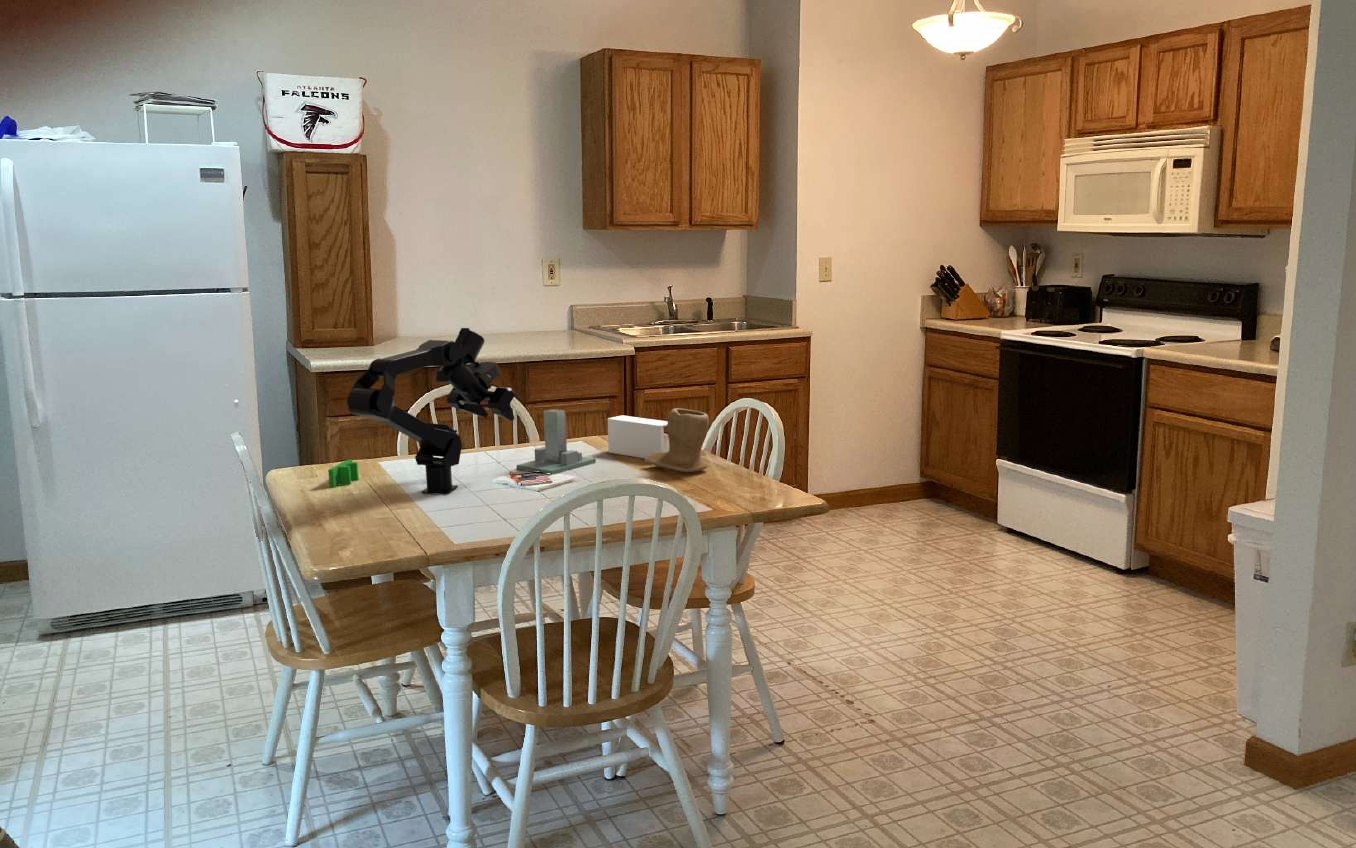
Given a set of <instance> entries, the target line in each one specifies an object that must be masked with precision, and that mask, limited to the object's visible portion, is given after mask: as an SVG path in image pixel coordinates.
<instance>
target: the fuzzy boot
mask: <svg viewBox="0 0 1356 848" xmlns="http://www.w3.org/2000/svg"><path fill="white" fill-rule="evenodd" d="M667 421H668V425H667V426H666V429H667V435H668V444H669V451H668V452H657V453H653V454H651V455H649V456H647V457H646V458H645V459H644V462H645V463H647V464H650V465H653V466H656V467H659V468H661V469H662V468H663V469H667V470H669V471H670V470H671V471H674V472H681V473H695V472H701V471H703V470H705V469H707V468H708V463H706V462H705V461H704V460H703V459H702V458H701V451H702V447H703V445H704V442H705V440H706V437H707V434H708V431H709V427H710V417H709V414H708V413H706V412H702V411H698V410H692V409H686V408H678V407H677V408H676V407H675V408H673V409H671V410H670V412H669V413H668V417H667Z"/></svg>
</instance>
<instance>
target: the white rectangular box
mask: <svg viewBox="0 0 1356 848" xmlns="http://www.w3.org/2000/svg"><path fill="white" fill-rule="evenodd" d="M606 420H607V438H608V439H607V443H608V454H615V455H621V456H626V457H632V458H633V457H634V458H640V459H644V460H645V458H646V457H647V456H649V455H651V454H653V453H657V452H668V451H669V438H668V434H665V433H664V432H665V431H664V427H667V425H668V420H667V421H666V420H661V419H660V420H659V419H651V418H644V417H637V416H630V415H623V414H622V415H617V416H612V417H608V418H607V419H606Z"/></svg>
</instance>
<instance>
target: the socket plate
mask: <svg viewBox="0 0 1356 848" xmlns="http://www.w3.org/2000/svg"><path fill="white" fill-rule="evenodd" d="M545 459H546V454H545V446H542V447H538V448H534V460H532V461H528V462H523V463H519V464H516V470H520V471H526V470H528V471H527V472H531V471H539V472H543V473H550V474H553V475H557V474H560V473H564V472H567V471H570V470H574V469H577V468H581V467H585V466H588V465H591V464H592V465H593V464H596V463H597V462H596V460H597V459H596V458H594V457H587V456H583V454H582V452H580V451H579V452H578V450H573V449H571V450H567V452H563V453H561V464H554V463H548V462H545ZM543 473H542V474H543Z"/></svg>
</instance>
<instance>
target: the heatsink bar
mask: <svg viewBox="0 0 1356 848" xmlns="http://www.w3.org/2000/svg"><path fill="white" fill-rule="evenodd" d="M543 425H544V426H543V427H544V428H543V429H544V430H543V431H544V447H545V454H546V459H545V462H548V463H554V464H561V453H563V452H567V451H568V449H567V446H568V445H567V424H566V410H562V409H555V408H554V409H553V408H551V409H546V410H543Z"/></svg>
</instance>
